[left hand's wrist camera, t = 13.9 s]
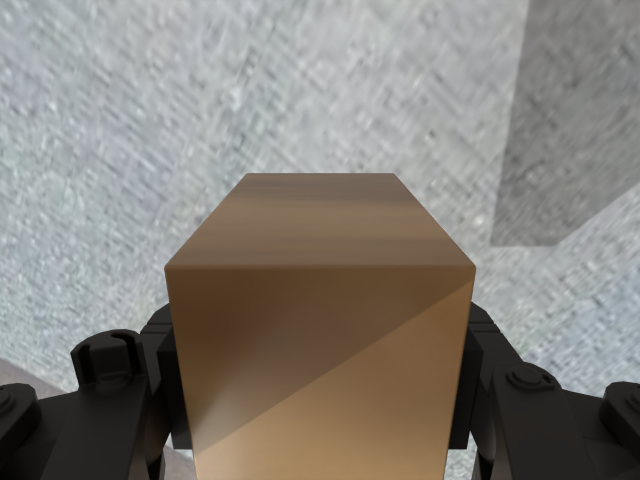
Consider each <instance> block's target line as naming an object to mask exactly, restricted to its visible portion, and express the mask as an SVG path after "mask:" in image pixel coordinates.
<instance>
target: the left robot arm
mask: <svg viewBox="0 0 640 480" xmlns="http://www.w3.org/2000/svg"><path fill="white" fill-rule="evenodd" d="M70 354H71V358H72V362H73V365H74V369H75V372H76V376H77V380H78V383H79V388H78V391H75V392H71V393H67V394H63V395H58V396H54V397H49V398H44V399H40V400H38V398H37V395H36V392H35V389H34V388H33V387H31V386H30V385H29V384H22V383H14V384H7V385H2V386H0V480H164V475H165V458H164V453H163V448H164V445H165V443H166V441H167V438H168V436H169V434H170V432H171V437H172V443H173V448H174V449H192V445H191V438H190V432H189V425H188V419H187V413H186V406H185V400H184V393H183V387H182V380H181V374H180V367H179V361H178V355H177V348H176V342H175V335H174V329H173V322H172V316H171V309H170V303H168V304H166V305H165V306H163V307H162V308H160V309H159V310H157V311H156V312H155V313H154V314H153V315H152V317H151V318H150V319H149V321H148V322H147V325H145V326H144V328H143V329H142V330H141V332H140V334H138V333H137V332H136V331H132V330H127V329H116V330H110V331H105V332H101V333H98V334H96V335H93V336H91V337H89V338H87V339H85V340H84V341H82V342H81V343H79V344H78V345H76V347H75V348H74V349H73V350H72V351H71V353H70ZM470 431H471V434H472V436H473V438H474V440H475V443H476V445H477V453H476V458H475V463H474V468H473V473H472V479H471V480H640V384H638V383H632V382H624V381H622V382H614V383H611V384H610V385H609V386H607V387H606V390H605V393H604V396H603V398H599V397H595V396H590V395H585V394H581V393H576V392H571V391H568V390H564V389H562V387H561V385H560V384H559V383H558V381H557V380H556V378H555V377H554V376H552V375H551V374H550V373H548V372H547V371H546V370H544V369H542V368H540V367H538V366H536V365H534V364H531V363H527V362H524V361H523V360H522V359H521V358H520V356H519V355H518V354H517V352H516V351H515V350H514V348H513V347H512V346H511V344H510V343H509V342H508V340H507V339H506V338H505V336H504V335H503V333H500V329H499V328H498V327H497V325H496V324H494V321H493V320H492V319H491V317H490V316H489V315H488V313H487V312H486V311H485V310H483V309H482V308H480V307H479V306H477V305H476V304H474V303H473V302H471V306H470V312H469V319H468V325H467V331H466V338H465V344H464V351H463V357H462V364H461V370H460V376H459V383H458V389H457V396H456V402H455V409H454V415H453V422H452V428H451V434H450V441H449V447H448V449H467V444H468V439H469V433H470Z"/></svg>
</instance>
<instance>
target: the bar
mask: <svg viewBox="0 0 640 480" xmlns="http://www.w3.org/2000/svg"><path fill="white" fill-rule="evenodd" d="M164 271H165V277H166V284H167V290H168V297H169V303H170V309H171V316H172V322H173V329H174V335H175V342H176V348H177V355H178V361H179V367H180V374H181V380H182V387H183V393H184V400H185V406H186V413H187V419H188V425H189V432H190V438H191V445H192V451H193V458H194V464H195V471H196V477H197V480H444V473H445V467H446V460H447V454H448V447H449V441H450V434H451V428H452V422H453V415H454V409H455V402H456V396H457V389H458V383H459V376H460V370H461V364H462V357H463V351H464V344H465V338H466V331H467V325H468V319H469V312H470V306H471V299H472V293H473V286H474V280H475V273H476V266H475V265H474V264H473V262H472V261H471V260H470V259H469V258H468V257H467V256H466V254H465V253H464V252H463V251H462V250H461V249H460V248H459V247H458V245H457V244H456V243H455V242H454V241H453V240H452V239H451V238H450V236H449V235H448V234H447V233H446V232H445V231H444V230H443V228H442V227H441V226H440V225H439V224H438V223H437V222H436V221H435V219H434V218H433V217H432V216H431V215H430V214H429V213H428V211H427V210H426V209H425V208H424V207H423V206H422V205H421V204H420V202H419V201H418V200H417V199H416V198H415V197H414V196H413V195H412V193H411V192H410V191H409V190H408V189H407V188H406V187H405V185H404V184H403V183H402V182H401V181H400V180H399V179H398V178H397V176H396V175H395V174H393V173H247V174H246V175H245V176H244V177H243V178H242V179H241V181H240V182H239V183H238V184H237V185H236V186H235V187H234V188H233V190H232V191H231V192H230V193H229V194H228V195H227V196H226V197H225V199H224V200H223V201H222V202H221V203H220V204H219V205H218V206H217V208H216V209H215V210H214V211H213V212H212V213H211V214H210V215H209V217H208V218H207V219H206V220H205V221H204V222H203V223H202V224H201V226H200V227H199V228H198V229H197V230H196V231H195V232H194V233H193V235H192V236H191V237H190V238H189V239H188V240H187V241H186V242H185V244H184V245H183V246H182V247H181V248H180V249H179V250H178V251H177V253H176V254H175V255H174V256H173V257H172V258H171V259H170V261H169V262H168V263H167V264H166V265H165V267H164Z"/></svg>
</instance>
